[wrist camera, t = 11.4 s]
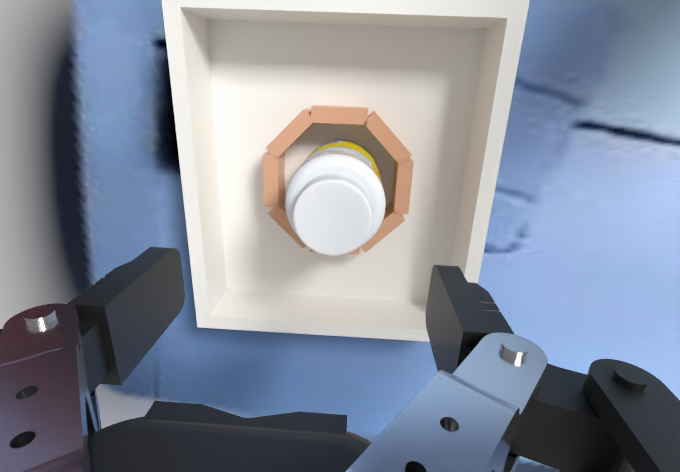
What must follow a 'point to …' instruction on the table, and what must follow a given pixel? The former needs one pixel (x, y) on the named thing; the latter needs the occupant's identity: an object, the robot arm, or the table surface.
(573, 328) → the table surface
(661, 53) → the table surface
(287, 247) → the walled box
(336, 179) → the supplement bottle
